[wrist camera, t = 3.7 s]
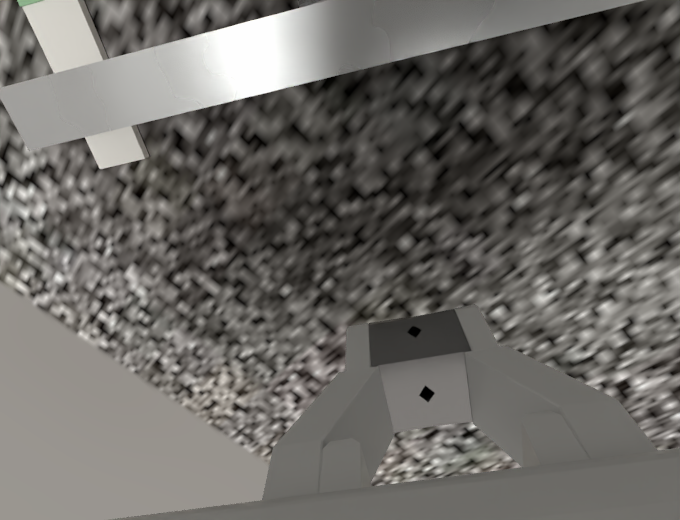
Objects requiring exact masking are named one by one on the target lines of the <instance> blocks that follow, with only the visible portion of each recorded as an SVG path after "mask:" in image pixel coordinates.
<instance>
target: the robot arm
mask: <svg viewBox="0 0 680 520" xmlns="http://www.w3.org/2000/svg"><path fill="white" fill-rule="evenodd" d="M465 422H473V424H474V425H475V426H477V427H478V428H479V429H480V430H481V431H482V432H483V433H484V434H486V435H487V436H488V437H489V438H490V439H491V440H492V441H493V442H495V443H496V444H497V445H498V446H499V447H500V448H501V449H502V450H504V451H505V452H506V453H507V454H508V455H509V456H510V457H511V458H512V459H514V460H515V461H516V462H517V463H518V464H519V465H520V466H521V467H522V468H514V469H506V470H498V471H490V472H483V473H475V474H467V475H459V476H451V477H443V478H435V479H427V480H420V481H412V482H404V483H396V484H388V485H380V486H372V484H371V481H372V479H373V477H374V475H375V473H376V471H377V469H378V467H379V465H380V463H381V461H382V459H383V457H384V455H385V453H386V451H387V449H388V447H389V445H390V443H391V440H392V438H393V436H394V433H395V432H401V431H407V430H413V429H419V428H425V427H431V426H432V425H433V426H439V425H448V424H457V423H465ZM110 520H680V448H676V449H667V450H659V451H658V450H657V449H656V447H655V446H654V445H653V444H652V442H651V441H650V440H649V439H648V437H647V436H646V435H645V434H644V432H643V431H642V430H641V429H640V427H639V426H638V425H637V424H636V422H635V421H634V420H633V419H632V417H631V416H630V415H629V414H628V412H627V411H626V410H625V409H624V407H623V406H622V405H621V403H620V402H619V401H618V400H617V399H615V398H613V397H611V396H609V395H607V394H605V393H603V392H601V391H599V390H597V389H595V388H592V387H590V386H588V385H586V384H584V383H582V382H580V381H578V380H576V379H574V378H572V377H570V376H568V375H566V374H564V373H562V372H560V371H557V370H555V369H553V368H551V367H549V366H547V365H545V364H543V363H541V362H539V361H537V360H535V359H533V358H531V357H529V356H527V355H525V354H523V353H520V352H518V351H516V350H514V349H512V348H510V347H508V346H501V347H500V346H499V345H498V343H497V341H496V339H495V337H494V335H493V333H492V332H491V330H490V328H489V326H488V324H487V322H486V320H485V318H484V317H483V315H482V313H481V311H480V309H479V307H478V306H477V305H475V304H474V305H470V306H465V307H460V308H455V309H452V310H446V311H441V312H436V313H431V314H426V315H421V316H415V317H406V318H399V319H393V320H386V321H380V322H373V323H369V324H368V323H366V324H360V325H355V326H349V327H348V328H347V330H346V365H345V372H339V373H338V374H337V376H336V377H335V378H334V379H333V380H332V381H331V382H330V384H329V385H328V386H327V387H326V388H325V389H324V390H323V391H322V393H321V394H320V395H319V396H318V397H317V398H316V399H315V401H314V402H313V403H312V404H311V405H310V406H309V407H308V409H307V410H306V411H305V412H304V413H303V414H302V415H301V416H300V418H299V419H298V420H297V421H296V422H295V423H294V424H293V426H292V427H291V428H290V429H289V430H288V431H287V432H286V434H285V435H284V436H283V437H282V438H281V439H280V440H279V441H278V443H277V444H276V445H275V446H274V447H273V451H272V456H271V461H270V465H269V470H268V475H267V480H266V484H265V489H264V494H263V498H262V500H261V501H254V502H245V503H238V504H230V505H222V506H214V507H206V508H198V509H190V510H182V511H175V512H167V513H158V514H151V515H142V516H134V517H127V518H118V519H110Z"/></svg>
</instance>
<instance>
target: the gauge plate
mask: <svg viewBox="0 0 680 520" xmlns="http://www.w3.org/2000/svg"><path fill="white" fill-rule="evenodd" d="M640 1H644V0H298V3H299V7H300V8H297V9H294V10H290V11H286V12H282V13H279V14H275V15H271V16H267V17H264V18H260V19H256V20H252V21H249V22H245V23H241V24H238V25H234V26H230V27H226V28H223V29H219V30H215V31H211V32H208V33H204V34H200V35H196V36H193V37H189V38H185V39H181V40H178V41H174V42H170V43H166V44H163V45H159V46H155V47H151V48H148V49H144V50H140V51H136V52H133V53H129V54H125V55H121V56H118V57H114V58H110V59H106V60H103V61H99V62H95V63H91V64H88V65H84V66H80V67H77V68H73V69H69V70H65V71H62V72H58V73H54V74H50V75H47V76H43V77H39V78H35V79H32V80H28V81H24V82H20V83H17V84H13V85H9V86H5V87H2V88H0V98H1V100H2V102H3V104H4V106H5V108H6V110H7V111H8V113H9V115H10V117H11V119H12V121H13V122H14V124H15V126H16V128H17V130H18V132H19V133H20V135H21V137H22V139H23V141H24V143H25V144H26V146H27V148H28V150H29V151H30V150H34V149H39V148H43V147H47V146H51V145H55V144H59V143H63V142H67V141H71V140H75V139H79V138H84V137H88V136H92V135H96V134H100V133H104V132H108V131H112V130H116V129H120V128H124V127H129V126H133V125H137V124H141V123H145V122H149V121H153V120H157V119H161V118H165V117H169V116H174V115H178V114H182V113H186V112H190V111H194V110H198V109H202V108H206V107H210V106H215V105H219V104H223V103H227V102H231V101H235V100H239V99H243V98H247V97H251V96H255V95H260V94H264V93H268V92H272V91H276V90H280V89H284V88H288V87H292V86H296V85H300V84H305V83H309V82H313V81H317V80H321V79H325V78H329V77H333V76H337V75H341V74H345V73H350V72H354V71H358V70H362V69H366V68H370V67H374V66H378V65H382V64H386V63H390V62H395V61H399V60H403V59H407V58H411V57H415V56H419V55H423V54H427V53H431V52H435V51H440V50H444V49H448V48H452V47H456V46H460V45H464V44H468V43H472V42H476V41H480V40H485V39H489V38H493V37H497V36H501V35H505V34H509V33H513V32H517V31H521V30H526V29H530V28H534V27H538V26H542V25H546V24H550V23H554V22H558V21H562V20H566V19H571V18H575V17H579V16H583V15H587V14H591V13H595V12H599V11H603V10H607V9H611V8H616V7H620V6H624V5H628V4H632V3H636V2H640Z"/></svg>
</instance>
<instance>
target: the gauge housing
mask: <svg viewBox="0 0 680 520" xmlns="http://www.w3.org/2000/svg"><path fill="white" fill-rule="evenodd" d="M17 1H18V3H19V5H20V6H21V7H23V10H24V12H25V14H26V16H27V18H28V20H29V22H30V24H31V26H32V28H33V30H34V33H35V35H36V37H37V39H38V41H39V43H40V45H41V47H42V49H43V51H44V53H45V55H46V58H47V60H48V62H49V64H50V66H51V68H52V70H53V72H54V73H58V72H62V71H65V70H69V69H73V68H77V67H80V66H84V65H88V64H91V63H95V62H99V61H103V60H106V59H108V56H107V54H106V52H105V49H104V47H103V45H102V42H101V40H100V37H99V35H98V33H97V30H96V28H95V26H94V23H93V21H92V18H91V16H90V14H89V11H88V9H87V7H86V4H85V2H84V0H17ZM85 139H86V141H87V143H88V145H89V147H90V149H91V152H92V154H93V156H94V158H95V160H96V162H97V164H98V166H99V168H100V169H103V168H108V167H112V166H116V165H120V164H125V163H129V162H133V161H138V160H142V159H146V158H148V157H150V156H149V154H148V152H147V149H146V147H145V144H144V142H143V140H142V137H141V135H140V133H139V130H138V128H137V125H133V126H129V127H124V128H120V129H116V130H112V131H108V132H104V133H100V134H96V135H92V136H88V137H85Z"/></svg>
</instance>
